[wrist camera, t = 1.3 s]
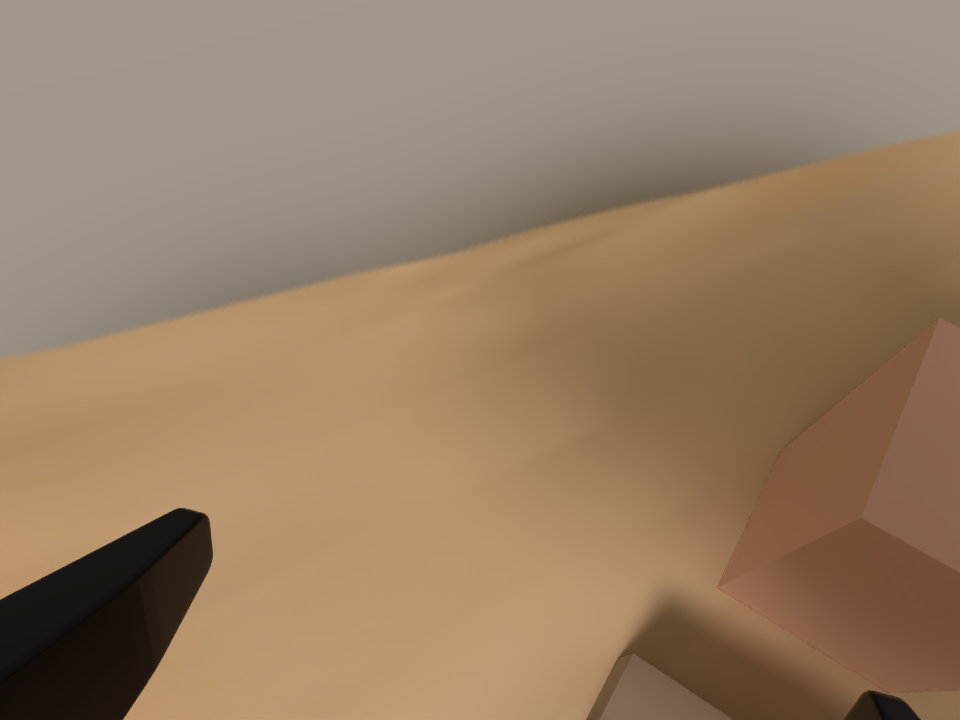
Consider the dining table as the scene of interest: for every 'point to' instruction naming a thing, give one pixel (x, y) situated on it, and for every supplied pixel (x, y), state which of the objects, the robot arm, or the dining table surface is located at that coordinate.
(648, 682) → the walnut block
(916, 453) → the reddish brown block
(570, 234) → the dining table surface
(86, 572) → the robot arm
